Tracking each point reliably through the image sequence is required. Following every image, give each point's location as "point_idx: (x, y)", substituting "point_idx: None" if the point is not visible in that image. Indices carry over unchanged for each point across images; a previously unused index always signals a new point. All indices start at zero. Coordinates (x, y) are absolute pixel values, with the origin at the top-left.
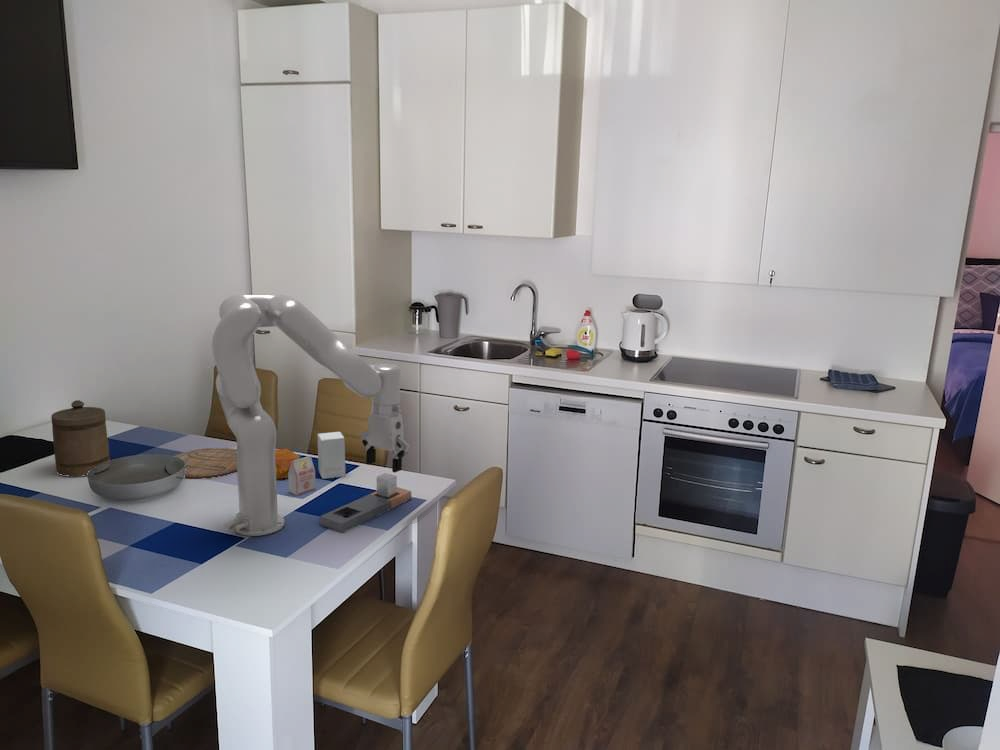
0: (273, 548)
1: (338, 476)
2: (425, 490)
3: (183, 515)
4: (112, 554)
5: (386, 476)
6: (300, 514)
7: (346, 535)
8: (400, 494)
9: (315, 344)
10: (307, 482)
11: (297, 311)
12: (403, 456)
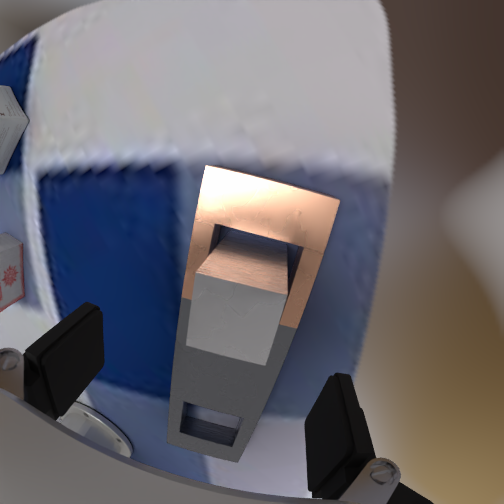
0: None
1: (18, 138)
2: (344, 83)
3: None
4: None
5: (232, 324)
6: (101, 388)
7: (257, 450)
8: (307, 257)
9: None
10: (5, 275)
11: None
12: (392, 467)
